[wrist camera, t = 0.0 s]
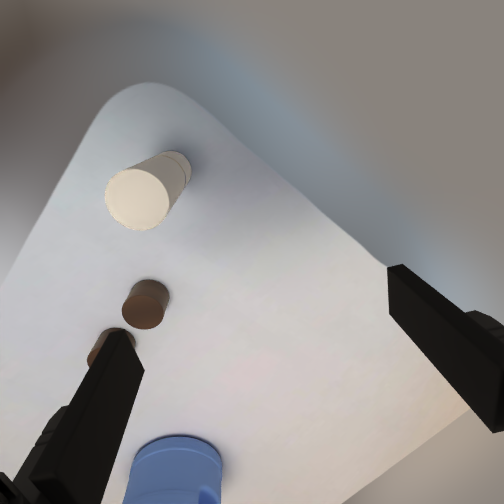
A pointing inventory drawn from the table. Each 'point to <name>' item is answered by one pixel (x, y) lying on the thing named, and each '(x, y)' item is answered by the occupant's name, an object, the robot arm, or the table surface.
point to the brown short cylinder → (100, 343)
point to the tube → (147, 190)
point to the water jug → (175, 473)
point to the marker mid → (146, 304)
